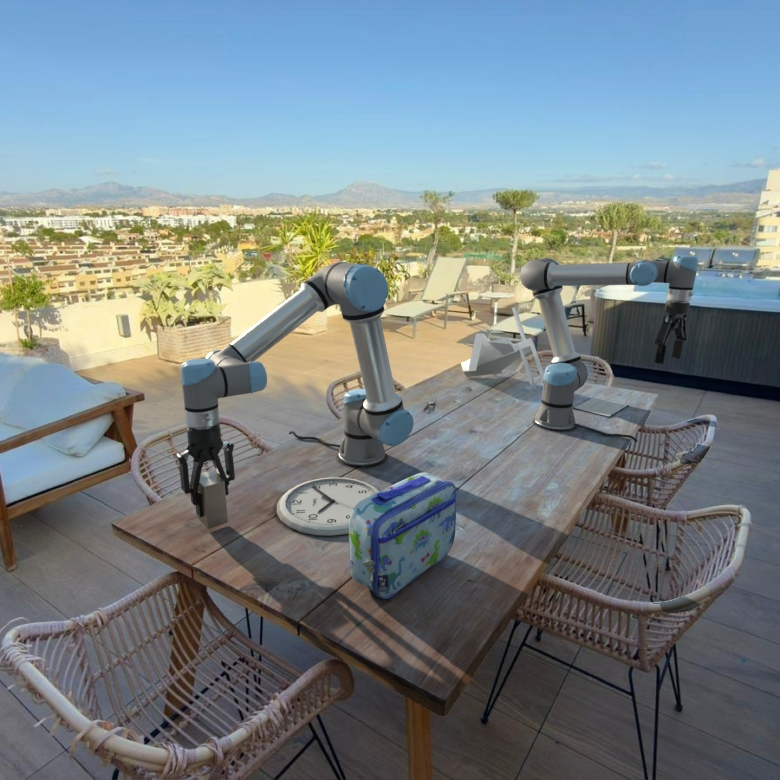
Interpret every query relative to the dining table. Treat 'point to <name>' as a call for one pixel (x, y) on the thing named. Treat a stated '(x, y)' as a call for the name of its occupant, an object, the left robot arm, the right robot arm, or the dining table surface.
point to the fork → (430, 403)
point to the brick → (213, 499)
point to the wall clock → (323, 505)
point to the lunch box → (401, 532)
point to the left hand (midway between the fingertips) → (211, 510)
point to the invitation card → (601, 406)
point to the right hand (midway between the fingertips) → (667, 360)
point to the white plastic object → (500, 355)
